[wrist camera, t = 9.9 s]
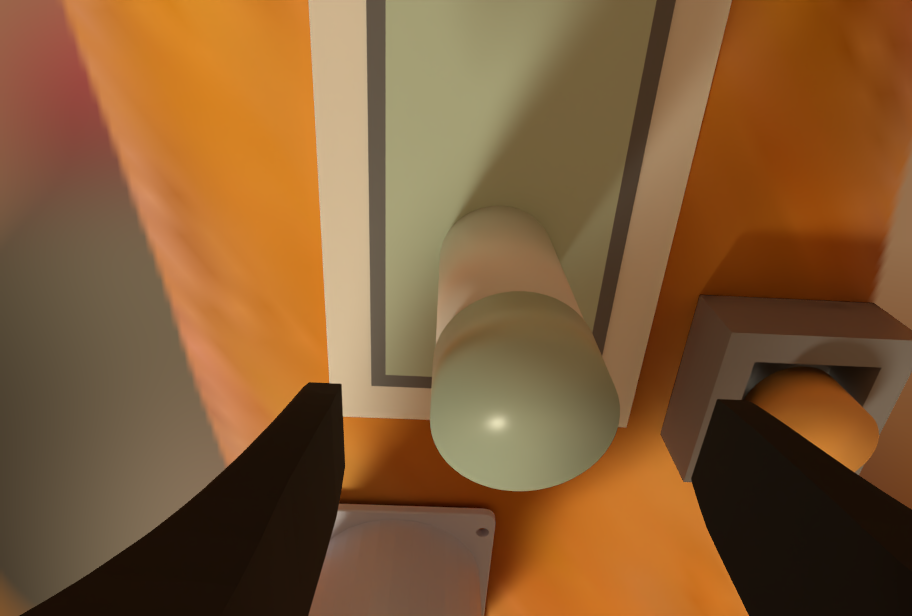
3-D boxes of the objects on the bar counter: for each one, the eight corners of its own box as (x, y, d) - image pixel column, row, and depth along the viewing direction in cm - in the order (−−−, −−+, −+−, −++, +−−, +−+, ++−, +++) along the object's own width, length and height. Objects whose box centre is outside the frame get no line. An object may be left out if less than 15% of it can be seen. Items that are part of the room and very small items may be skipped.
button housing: (813, 439, 23) (852, 487, 20) (660, 434, 22) (683, 481, 20) (873, 302, 20) (927, 341, 18) (700, 294, 20) (731, 332, 17)
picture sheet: (624, 422, 22) (627, 429, 22) (332, 411, 22) (330, 417, 21) (771, -184, 14) (780, -190, 13) (299, -221, 13) (295, -227, 13)
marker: (546, 314, 19) (601, 494, 12) (435, 309, 19) (426, 487, 12) (562, 207, 18) (637, 344, 11) (440, 200, 18) (434, 335, 10)
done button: (819, 445, 20) (855, 488, 18) (728, 442, 20) (755, 485, 18) (854, 368, 19) (896, 407, 17) (755, 364, 18) (788, 403, 17)
